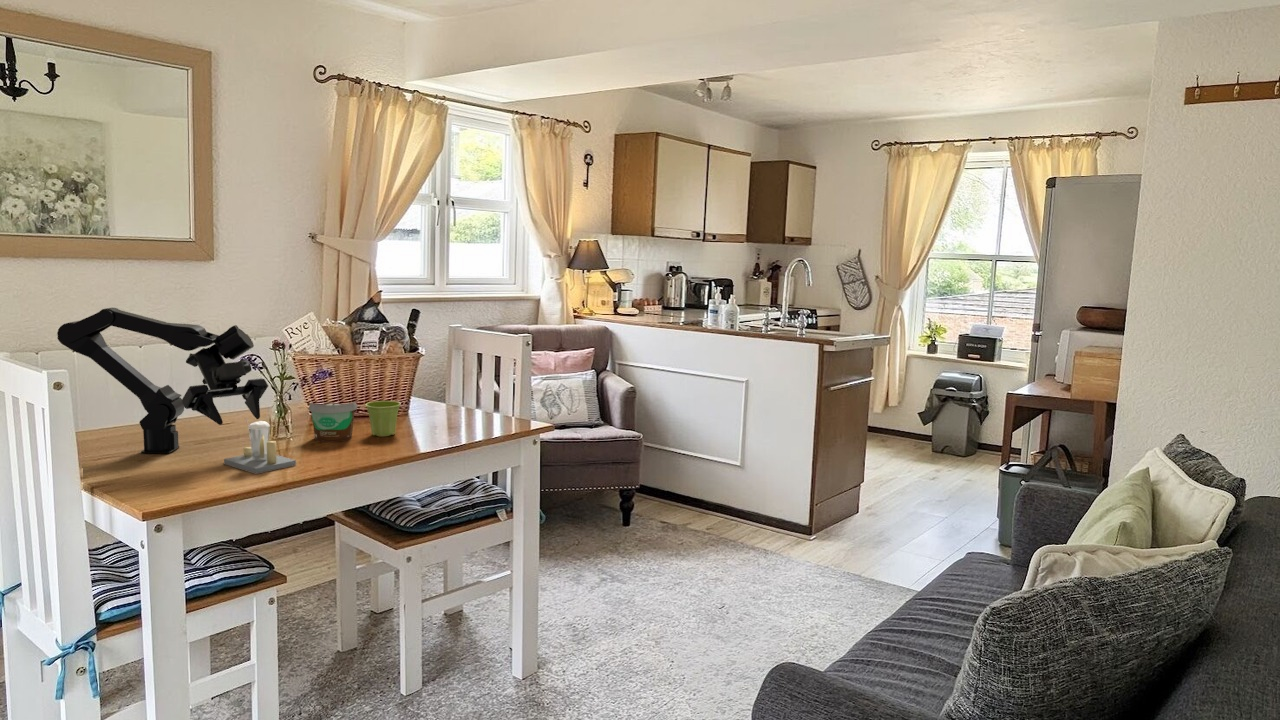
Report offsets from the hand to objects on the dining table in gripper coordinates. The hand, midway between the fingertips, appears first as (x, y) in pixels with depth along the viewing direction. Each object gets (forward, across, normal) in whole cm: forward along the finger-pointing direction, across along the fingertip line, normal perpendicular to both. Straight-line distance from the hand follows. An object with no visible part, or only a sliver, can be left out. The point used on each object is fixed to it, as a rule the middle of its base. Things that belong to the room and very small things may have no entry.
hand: (240, 420), depth 197 cm
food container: (+6, +26, +8) cm, 28 cm away
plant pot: (+8, +40, +5) cm, 41 cm away
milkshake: (+11, 0, +1) cm, 11 cm away
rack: (+12, 0, +2) cm, 12 cm away
